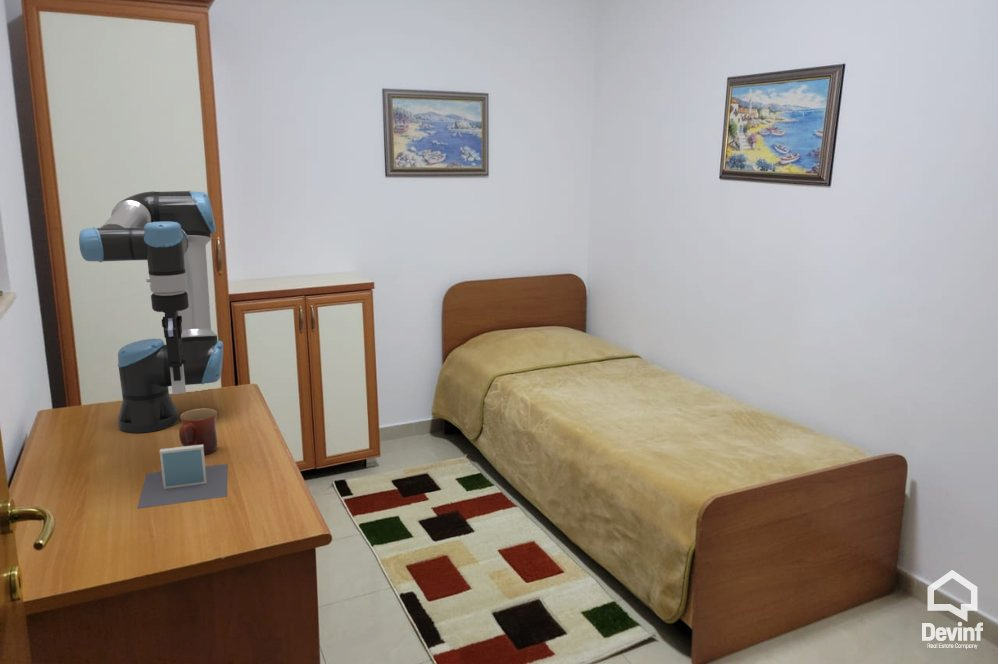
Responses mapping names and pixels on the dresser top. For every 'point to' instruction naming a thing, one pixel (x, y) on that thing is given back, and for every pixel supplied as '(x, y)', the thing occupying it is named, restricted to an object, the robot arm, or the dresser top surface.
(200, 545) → the dresser top surface
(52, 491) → the dresser top surface
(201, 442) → the mug
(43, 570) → the dresser top surface
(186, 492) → the mat
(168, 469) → the tile
